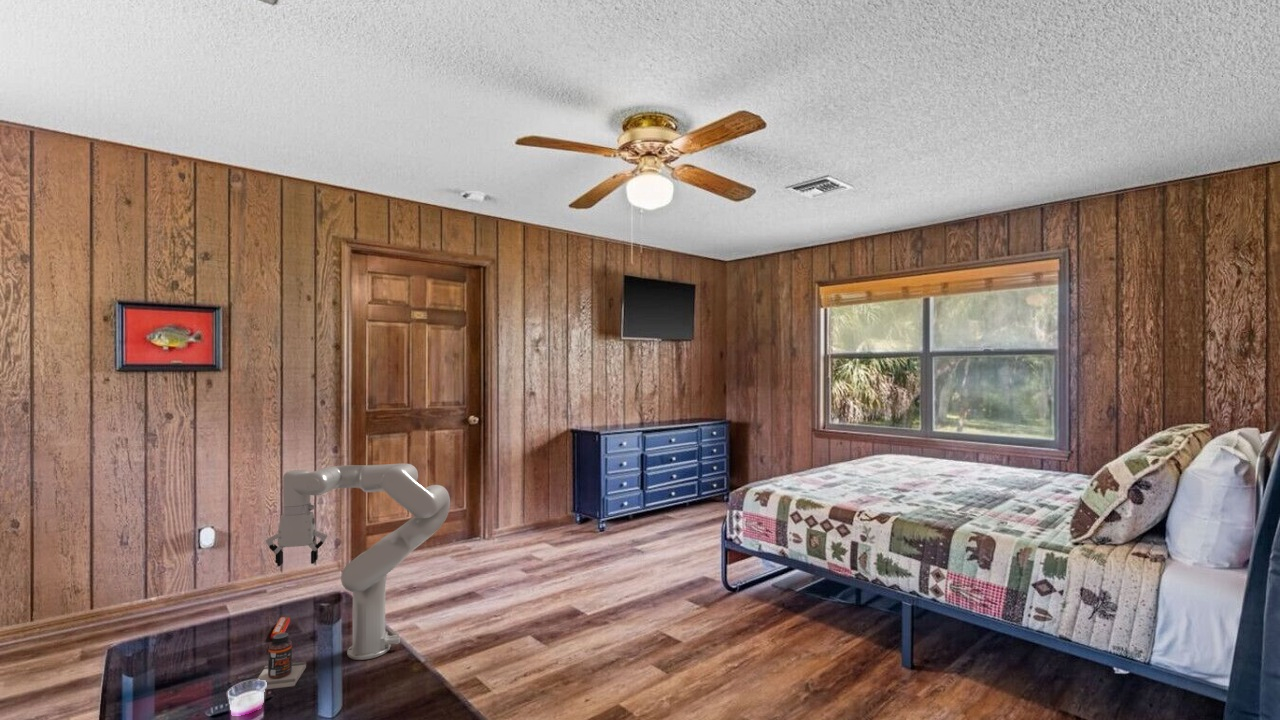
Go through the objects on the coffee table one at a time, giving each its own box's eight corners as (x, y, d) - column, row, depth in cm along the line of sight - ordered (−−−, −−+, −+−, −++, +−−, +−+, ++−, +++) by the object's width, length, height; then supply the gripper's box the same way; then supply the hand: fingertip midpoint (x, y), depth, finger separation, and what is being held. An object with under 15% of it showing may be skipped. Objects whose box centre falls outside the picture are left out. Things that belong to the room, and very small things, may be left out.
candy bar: (281, 641, 201) (281, 632, 201) (269, 643, 199) (269, 634, 199) (291, 622, 216) (291, 613, 216) (279, 623, 214) (279, 615, 214)
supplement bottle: (274, 681, 172) (274, 641, 172) (263, 676, 175) (264, 636, 175) (296, 672, 177) (296, 633, 177) (285, 667, 180) (285, 629, 180)
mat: (306, 667, 183) (306, 661, 183) (294, 685, 172) (294, 679, 172) (265, 671, 180) (265, 666, 180) (250, 691, 169) (251, 684, 169)
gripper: (329, 505, 198) (329, 558, 197) (270, 508, 194) (270, 562, 193) (323, 510, 190) (323, 565, 190) (262, 514, 186) (262, 570, 186)
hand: (296, 563), depth 192 cm, fingers open, 9 cm apart
